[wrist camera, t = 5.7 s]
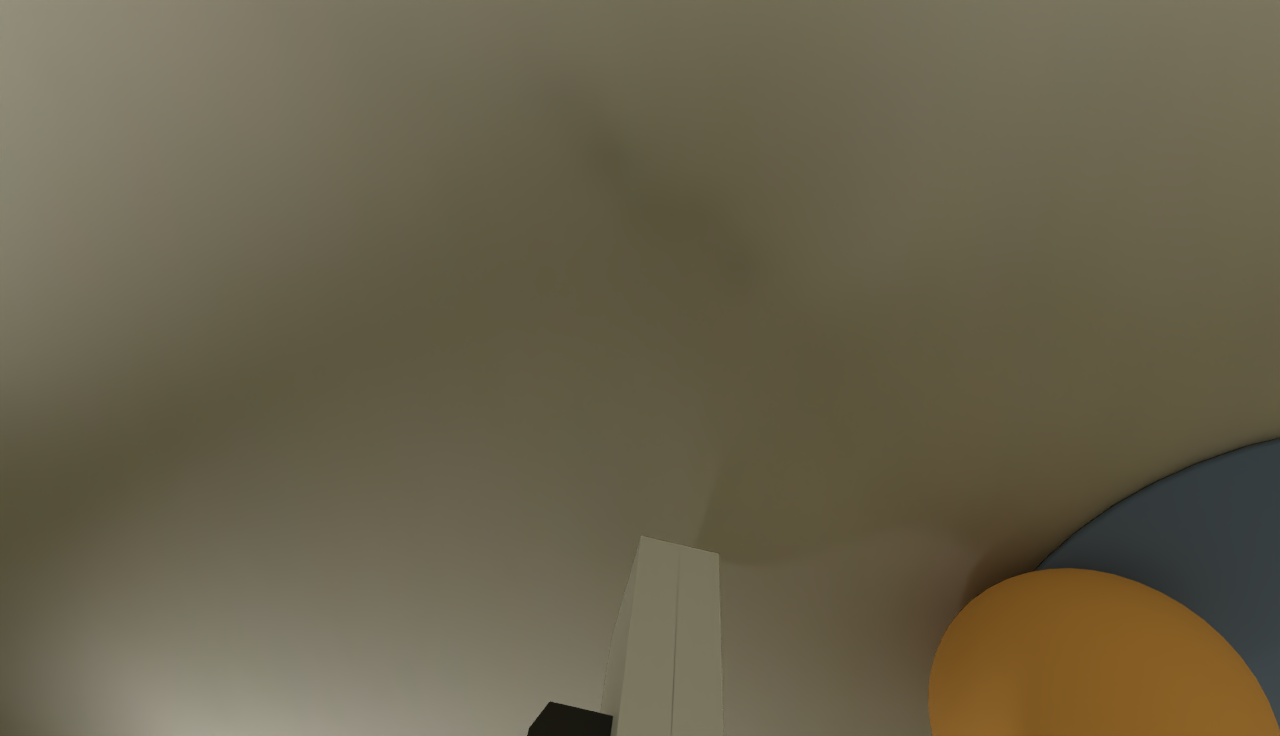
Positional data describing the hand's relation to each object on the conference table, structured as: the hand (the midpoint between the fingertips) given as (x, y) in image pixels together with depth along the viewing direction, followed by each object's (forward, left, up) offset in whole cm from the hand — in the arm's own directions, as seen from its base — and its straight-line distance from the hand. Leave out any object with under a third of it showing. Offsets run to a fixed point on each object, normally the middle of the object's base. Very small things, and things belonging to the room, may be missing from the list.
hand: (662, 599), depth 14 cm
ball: (+8, 0, +1) cm, 8 cm away
